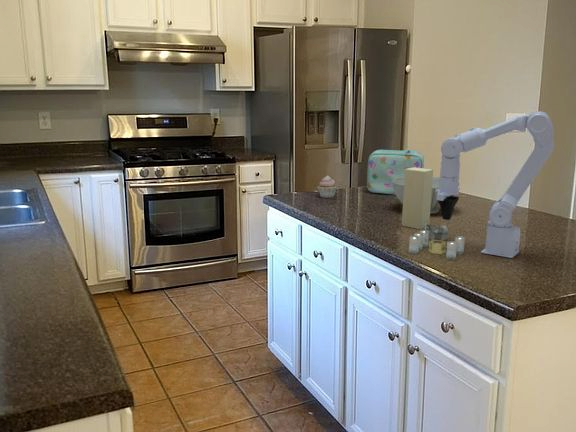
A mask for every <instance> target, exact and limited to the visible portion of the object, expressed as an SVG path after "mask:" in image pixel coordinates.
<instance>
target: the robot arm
mask: <svg viewBox="0 0 576 432" xmlns="http://www.w3.org/2000/svg"><path fill="white" fill-rule="evenodd" d="M526 129H527V131H528V132H529V134H530V135H531V136H532V138H533V142H534V149H533V150H532V151H531V153H530V155H529V157H528V158H527V159H526V161H525V162H524V164H523V165H522V166H521V168H520V170H519V171H518V173H517V174H516V175H515V177H514V179H513V180H512V181H511V184H510V185H509V186H508V187H507V190H506V191H505V192H504V193H503V195H502V196H501V197H500V199H498V200H497V201H495V202H494V203H493V204H492V205H491V208H490V211H489V213H488V218H489V220H488V221H487V225H486V238H485V239H486V240H485V247H484V248H483V249H482V250H481V251H480V254H486V255H493V256H498V257H504V258H508V259H509V258H510V259H513V258H514V257H515V256H517V255H518V254H519V253H520V241H521V228H520V227H519V226H514V225H513V222H512V221H511V220H512V214H513V211H514V210H515V209H516V207H517V205H518V204H519V201H520V200H521V198H522V197H523V195H524V194H525V193H526V191H527V189H528V188H529V187H530V185H531V183H532V182H533V181H534V179H535V178H536V176H538V174H539V172H540V170H541V169H542V168H543V166H544V165H545V163H546V162H547V161H548V159H549V157H550V156H551V154H552V153H553V151H554V149H555V138H554V137H555V136H554V135H555V133H554V125H553V122H552V121H551V118H550V116H549V115H548V114H547V112H544V111H541V110H538V111H534V112H532V113H526V114H522V115H518V116H515V117H512V118H509V119H508V120H504V121H502V122H500V123H497V124H494V125H493V126H490V127H487V128H486V129H484V128H481V127H474V126H473V127H471V128H469V130H468V131H464V132H462V133H460V134H458V133H456V134H454V135H453V136H454V137H449V138H447V139H445V140H444V141H443V142H442V143H441V146H440V151H441V161H440V173H439V178H440V185H439V189H436V190H435V192H438V194H437V201H438V202H439V205H440V208H441V209H440V212H441V218H442V220H445V221H450V220H451V219H452V217H453V212H454V209H455V207H456V205H457V202H458V201H459V199H460V197H459V196H457V195H459V194H460V187H458V185H459V186H460V181H459V180H460V169H461V162H460V160H461V159H460V158H461V153H467V152H470V151H473V150H475V149H477V148H480V147H483V146H486V144H487V142H488V140H490V139H493V138H496V137H499V136H501V135H505V134H507V133H510V132H513V131H517V132H518V131H519V132H522V133H524V132H526ZM454 195H455V196H454Z"/></svg>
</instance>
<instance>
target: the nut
mask: <svg viewBox="0 0 576 432" xmlns="http://www.w3.org/2000/svg"><path fill="white" fill-rule="evenodd" d="M428 252H429V253H431V254H435V255H436V254H437V255H443V254H446V252H447V242H446V241H445V240H439V239H435V240H428Z"/></svg>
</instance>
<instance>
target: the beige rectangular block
mask: <svg viewBox="0 0 576 432" xmlns="http://www.w3.org/2000/svg"><path fill="white" fill-rule="evenodd" d="M424 168H425V167H424ZM424 168H416V167H413V168H408V169H405V179H404V195H403V204H402V212H401V213H402V215H401V226H403V227H407V228H411V229H412V228H413V229H417V230H423V229H424V226H425V224H430V222H431V221H430V218H431V214H430V208H431V194H432V180H433V177H434V170H433V169H429V168H425V169H424ZM424 222H425V224H424Z"/></svg>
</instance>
